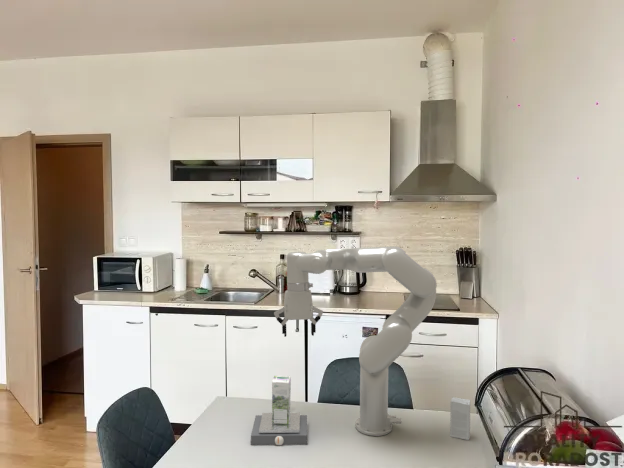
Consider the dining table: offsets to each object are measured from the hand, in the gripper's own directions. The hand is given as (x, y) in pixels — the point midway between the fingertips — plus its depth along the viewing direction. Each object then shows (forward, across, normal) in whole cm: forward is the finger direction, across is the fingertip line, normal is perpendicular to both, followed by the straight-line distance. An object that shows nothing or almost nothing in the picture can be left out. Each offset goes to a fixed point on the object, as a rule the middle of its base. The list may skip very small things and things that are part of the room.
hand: (299, 335), depth 154 cm
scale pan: (+27, +7, +9) cm, 30 cm away
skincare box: (+32, -52, +14) cm, 63 cm away
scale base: (+31, +7, +9) cm, 33 cm away
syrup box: (+27, +7, +8) cm, 29 cm away
